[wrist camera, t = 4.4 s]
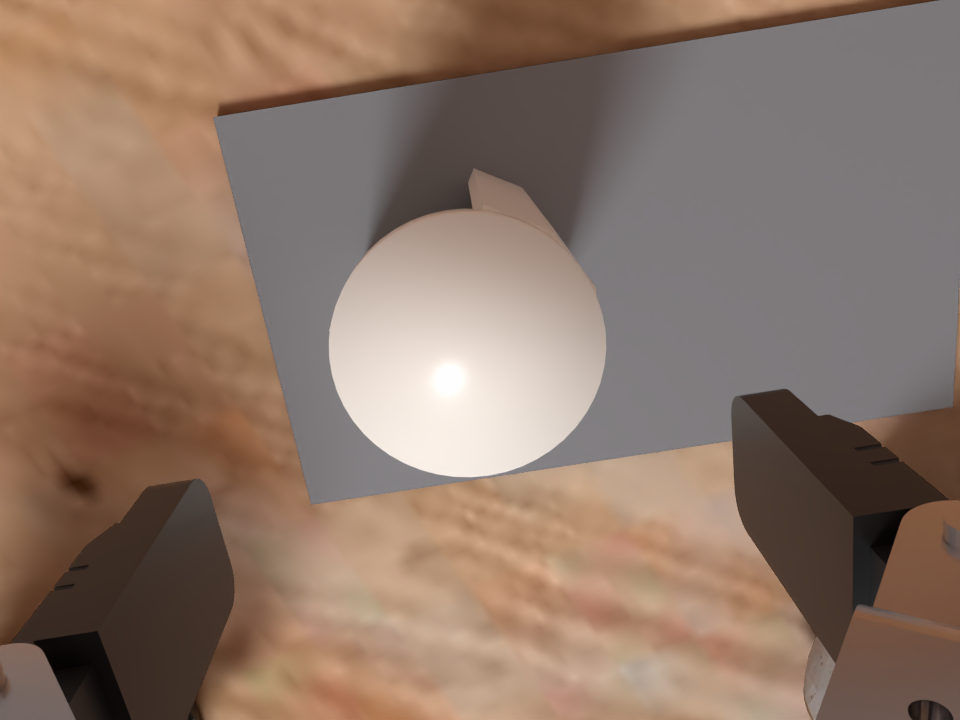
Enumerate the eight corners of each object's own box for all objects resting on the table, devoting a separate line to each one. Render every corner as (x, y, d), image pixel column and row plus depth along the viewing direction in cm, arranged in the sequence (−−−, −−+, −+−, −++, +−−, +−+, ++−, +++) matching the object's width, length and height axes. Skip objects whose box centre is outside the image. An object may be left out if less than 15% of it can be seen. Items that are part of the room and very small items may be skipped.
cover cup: (544, 156, 26) (591, 192, 17) (567, 341, 28) (618, 456, 19) (350, 187, 26) (300, 238, 17) (387, 369, 28) (359, 495, 19)
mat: (966, -4, 25) (974, -6, 24) (946, 402, 29) (952, 406, 29) (216, 116, 25) (213, 117, 25) (312, 499, 30) (311, 504, 29)
